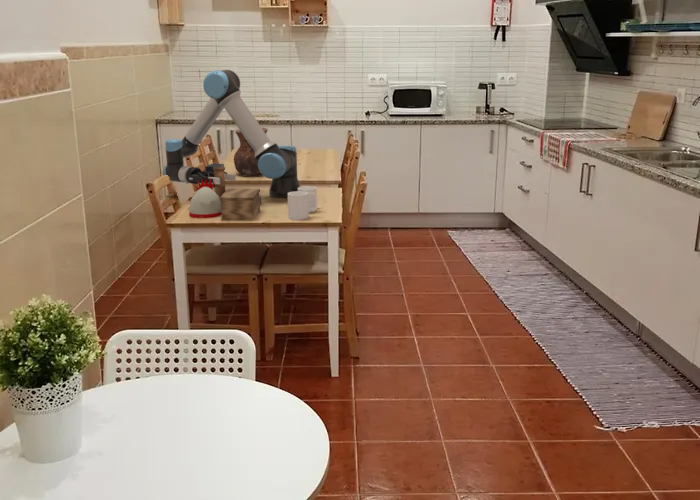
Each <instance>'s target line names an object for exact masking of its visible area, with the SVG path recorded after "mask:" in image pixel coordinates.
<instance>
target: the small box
mask: <svg viewBox="0 0 700 500" xmlns="http://www.w3.org/2000/svg"><path fill="white" fill-rule="evenodd" d="M213 167H225V164H224V163H211V164H208V165H206V166H204V172H210V171H211V172H214V170H213ZM208 184H209V183H208ZM213 188H215V184H214V186H213Z"/></svg>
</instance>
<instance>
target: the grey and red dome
mask: <svg viewBox="0 0 700 500" xmlns="http://www.w3.org/2000/svg"><path fill="white" fill-rule="evenodd" d="M214 183H215V182H213V184H211V179H210V181H209V184H208V183H207V180H206V179H205V183H204V182H203V179H202V182H201V183H199V182H198V186H196V185H194V187H195V189H196V191H195V192H194V193H193V195H192V198H191V200H190V204H189V210H188V215H189V217H190V218H193V219H212V218H218V217H222V214H221V201H220V199H219V198H220V196H218V195H217V194H216V191H215V189H214V187H213V186H214ZM213 189H214V190H213Z"/></svg>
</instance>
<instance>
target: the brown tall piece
mask: <svg viewBox="0 0 700 500" xmlns="http://www.w3.org/2000/svg"><path fill="white" fill-rule="evenodd" d="M213 170H214V176H215V178H220V184H215V187H214V188H215V189H214V191H215V192H216V194H217V195H218V196H220V197H221V196H222V195H223V194H224V193H225V191H226V180H225V174H224V172H225V170H226V166H224V167H213ZM219 199H220V198H219Z"/></svg>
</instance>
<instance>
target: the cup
mask: <svg viewBox="0 0 700 500" xmlns="http://www.w3.org/2000/svg"><path fill="white" fill-rule="evenodd" d="M312 194H314V197H315V207H314V208H308V196H309V195H312ZM317 206H318V198H317V192H316V193H314V192H313V193H307V192H303V191H295V192H289V193H288V197H287V213H288V214H287V215H288V216H287V217H288V219H289V220H294V221H295V220H296V221H300V220H301V221H302V220H307V219H309V214H310V213H308V211H315V210H317ZM315 212H316V211H315Z"/></svg>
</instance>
